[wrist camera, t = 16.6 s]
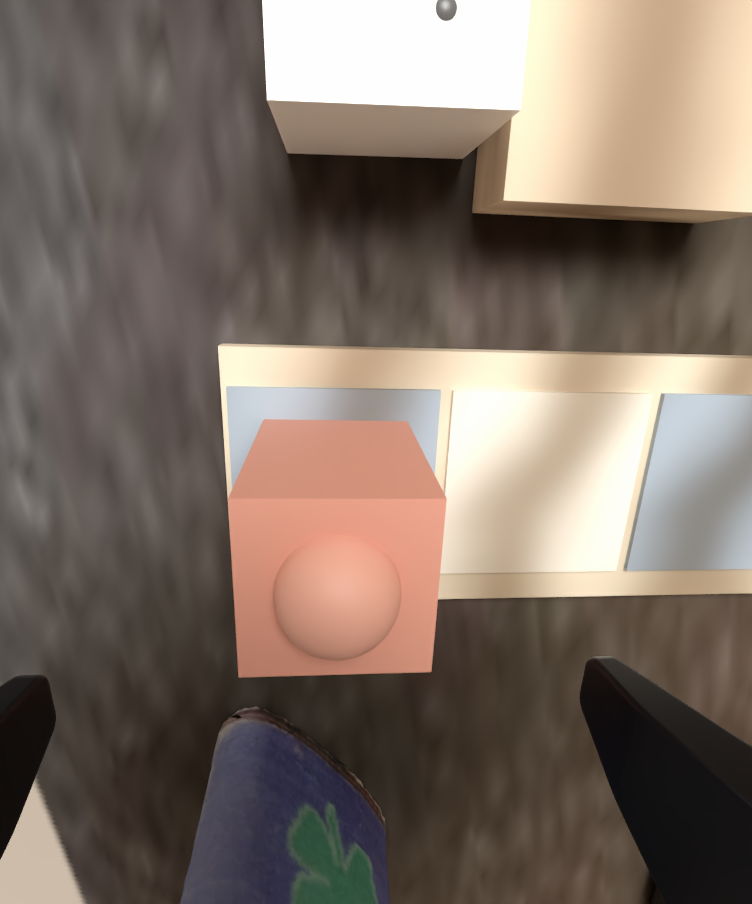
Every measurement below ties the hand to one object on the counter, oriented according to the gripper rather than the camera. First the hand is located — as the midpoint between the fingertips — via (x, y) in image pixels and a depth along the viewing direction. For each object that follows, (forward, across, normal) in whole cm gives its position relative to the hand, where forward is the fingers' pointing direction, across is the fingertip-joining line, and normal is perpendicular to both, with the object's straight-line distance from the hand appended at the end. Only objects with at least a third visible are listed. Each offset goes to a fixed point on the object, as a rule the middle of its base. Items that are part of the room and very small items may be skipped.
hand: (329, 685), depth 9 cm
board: (+10, -7, 0) cm, 12 cm away
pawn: (+9, 0, 0) cm, 9 cm away
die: (+7, -4, -12) cm, 15 cm away
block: (+10, -8, -12) cm, 17 cm away
